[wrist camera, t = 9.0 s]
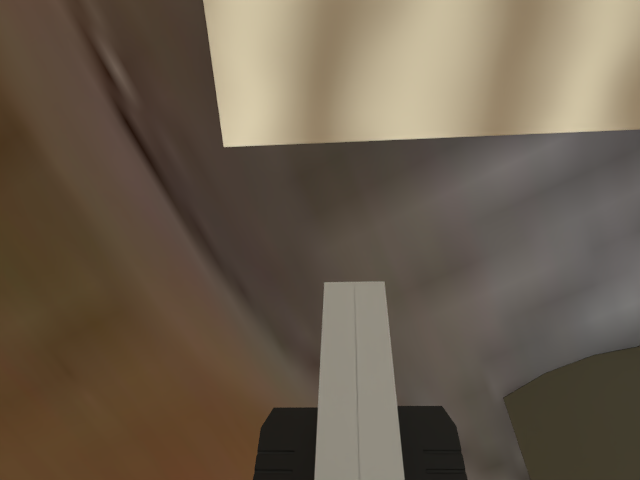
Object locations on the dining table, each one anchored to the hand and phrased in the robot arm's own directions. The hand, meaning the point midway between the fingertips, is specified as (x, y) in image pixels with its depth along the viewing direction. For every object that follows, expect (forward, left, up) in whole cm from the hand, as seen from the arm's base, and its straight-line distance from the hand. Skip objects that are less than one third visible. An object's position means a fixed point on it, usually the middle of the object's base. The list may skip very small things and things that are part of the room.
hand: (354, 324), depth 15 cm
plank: (-8, -4, -14) cm, 17 cm away
